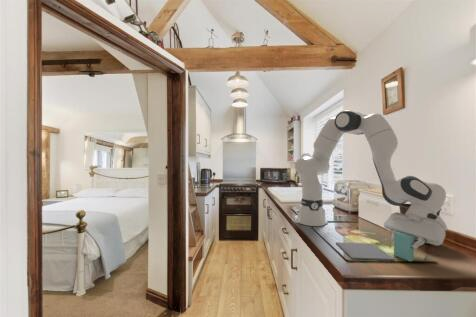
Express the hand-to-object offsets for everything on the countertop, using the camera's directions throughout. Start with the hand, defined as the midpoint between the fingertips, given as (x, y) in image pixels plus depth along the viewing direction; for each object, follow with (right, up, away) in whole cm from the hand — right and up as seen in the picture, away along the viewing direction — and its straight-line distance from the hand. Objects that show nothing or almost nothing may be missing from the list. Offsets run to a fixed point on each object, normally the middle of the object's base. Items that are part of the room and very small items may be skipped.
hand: (402, 244), depth 91 cm
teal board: (+1, -5, 0) cm, 5 cm away
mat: (-12, -5, +6) cm, 14 cm away
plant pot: (+22, -6, +21) cm, 31 cm away
